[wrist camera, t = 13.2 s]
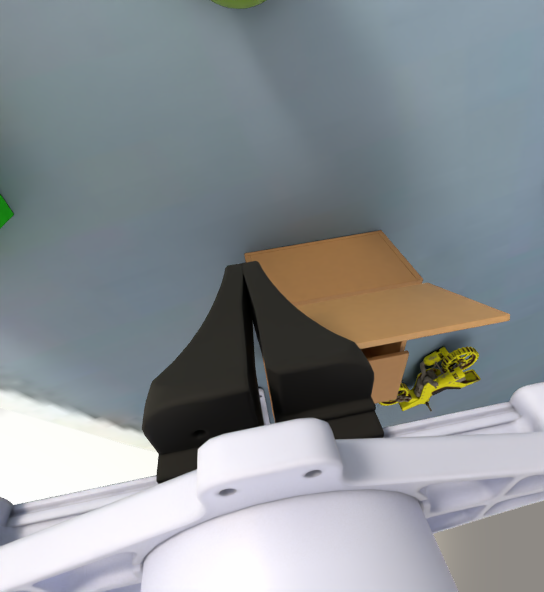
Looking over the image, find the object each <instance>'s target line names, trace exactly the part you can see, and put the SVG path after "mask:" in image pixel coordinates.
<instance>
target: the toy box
mask: <svg viewBox="0 0 544 592" xmlns="http://www.w3.org/2000/svg"><path fill="white" fill-rule="evenodd" d="M244 255H245V261H246V262H252V261H258V262H259V263H260V265H261V267H262V269H263V271H264V272H265V274H266V275H267V277H268V278H269V279H270V281H271V282H272V283H273V284H274V285H275V287H276V288H277V289H278V290H279V291H280V292H281V293H282V294H283V296H284V297H285V298H286V299H287V300H288V301H290V302H291V303H292V304H293V305H294V306H295V307H296V306H301V305H307V304H313V303H318V302H324V301H329V300H335V299H340V298H346V297H351V296H357V295H362V294H368V293H373V292H379V291H384V290H390V289H395V288H401V287H406V286H412V285H418V284H422V281H423V278H422V277H421V276H420V275H419V274H418V273H417V271H416V270H415V269H414V268H413V267H412V266H411V264H410V263H409V262H408V261H407V260H406V259H405V257H404V256H403V255H402V254H401V253H400V252H399V250H398V249H397V248H396V247H395V246H394V245H393V243H392V242H391V241H390V240H389V239H388V238H387V236H386V235H385V234H384V233H383V232H382V231H381V230H380V231H374V232H368V233H362V234H356V235H350V236H345V237H339V238H333V239H327V240H321V241H315V242H309V243H303V244H297V245H292V246H286V247H280V248H274V249H268V250H262V251H256V252H250V253H245V254H244ZM406 342H407V340H405V341H400V342H395V343H389V344H384V345H379V346H374V347H369V348H363V349H361V351H362V352H363V354H364V355H365V357H366V358H367V360H368V361H369V363H370V365H371V367H372V369H373V371H374V383H373V389H372V394H371V397H372V399H373V401H374V403H379V402H384V401H389V400H394V399H396V398H397V395H398V391H399V388H400V384H401V380H402V377H403V373H404V370H405V366H406V363H407V359H408V356H409V352H408V351H404V349H405V345H406ZM263 362H264V359H263ZM264 367H265V363H264ZM265 373H266V368H265ZM266 378H267V374H266ZM267 384H268V379H267ZM268 389H269V385H268ZM269 395H270V390H269ZM270 401H271V396H270ZM271 406H272V401H271ZM272 412H273V406H272ZM273 416H274V412H273ZM274 420H275V418H274Z"/></svg>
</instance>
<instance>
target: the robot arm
mask: <svg viewBox="0 0 544 592" xmlns="http://www.w3.org/2000/svg"><path fill="white" fill-rule="evenodd" d="M252 320H253V322H252ZM253 324H254V328H255V331H256V335H257V338H258V342H259V345H260V349H261V352H262V356H263V359H264V363H265V368H266V374H267V379H268V385H269V390H270V396H271V401H272V406H273V412H274V418H275V423H274V424H270V421H269V416H268V411H267V406H266V401H265V396H264V391H263V389H258V383H257V377H256V369H255V357H254V339H253ZM373 383H374V371H373V369H372V367H371V365H370V363H369V361H368V360H367V358H366V357H365V355H364V354H363V352H362V351H361V349H360V348H359V347H358V345H357V344H356V343H355V342H353V341H351V340H349V339H347V338H344V337H342V336H340V335H338V334H335V333H333V332H331V331H330V330H328V329H326V328H324V327H323V326H321V325H320V324H318V323H317V322H315V321H313V320H312V319H310V318H309V317H308V316H306V315H305V314H304V313H302V312H301V311H300V310H299V309H297V308H296V307H295V306H294V305H293V304H292V303H291V302H290V301H288V300H287V299H286V298H285V297H284V296H283V294H282V293H281V292H280V291H279V290H278V289H277V288H276V287H275V285H274V284H273V283H272V282H271V281H270V279H269V278H268V277H267V275H266V274H265V272H264V271H263V269H262V267H261V265H260V263H259V262H258V261H252V262H246V263H240V264H235V265H229V266H227V267H226V268H225V272H224V277H223V280H222V283H221V286H220V289H219V291H218V294H217V297H216V299H215V301H214V303H213V305H212V307H211V310H210V312H209V314H208V315H207V317H206V319H205V321H204V322H203V324H202V326H201V327H200V329H199V330H198V332H197V333H196V335H195V336H194V337H193V339H192V340H191V342H190V343H189V344H188V345H187V347H186V348H185V349H184V350H183V351H182V352H181V354H180V355H179V356H178V357H177V358H176V359H175V360H174V361H173V363H172V364H171V365H169V366H168V367H167V368H166V369H165V370H164V371H163V372H162V373H161V374H160V375H159V376H158V377H157V378H155V379H154V380H153V381H152V383H151V386H150V389H149V393H148V396H147V399H146V403H145V409H144V416H143V424H142V430H143V432H144V435H145V436H146V437H147V439H148V440H149V441H150V443H151V444H152V445H153V447H154V448H155V449H156V451H157V452H158V453H159V457H158V467H157V475H156V476H151V477H146V478H141V479H137V480H132V481H127V482H122V483H118V484H113V485H108V486H103V487H98V488H93V489H89V490H84V491H80V492H74V493H70V494H65V495H60V496H55V497H50V498H46V499H41V500H36V501H31V502H27V503H22V504H17V505H13V504H12V503H11V502H9V501H8V500H6V499H4V498H1V497H0V592H459V591H458V589H457V587H456V585H455V582H454V580H453V578H452V576H451V573H450V571H449V569H448V567H447V564H446V563H445V560H444V558H443V555H442V553H441V551H440V549H439V547H438V545H437V542H436V540H435V538H434V535H433V534H434V533H438V532H441V531H444V530H447V529H451V528H454V527H457V526H460V525H463V524H467V523H470V522H473V521H476V520H480V519H483V518H486V517H489V516H493V515H496V514H499V513H502V512H506V511H509V510H513V509H516V508H519V507H523V506H526V505H529V504H533V503H537V502H541V501H544V382H542V383H537V384H532V385H527V386H524V387H522V388H520V389H518V390H517V391H516V392H515V393H514V394H513V395H512V397H511V399H510V402H505V403H501V404H496V405H491V406H486V407H481V408H477V409H472V410H467V411H462V412H457V413H453V414H448V415H443V416H438V417H434V418H429V419H424V420H419V421H414V422H410V423H405V424H400V425H395V426H390V427H386V428H382V426H381V424H380V422H379V419H378V417H377V415H376V413H375V409H376V407H375V404H374V401H373V399H372V397H371V394H372V389H373Z"/></svg>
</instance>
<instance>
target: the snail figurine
mask: <svg viewBox="0 0 544 592" xmlns="http://www.w3.org/2000/svg"><path fill="white" fill-rule="evenodd" d="M211 1H212V2H214V3H216V4H219V5H221V6H224V7H228V8H234V9H244V8H250V7H253V6H256V5H259V4H261V3H263V2H264V1H266V0H211Z"/></svg>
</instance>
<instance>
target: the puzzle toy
mask: <svg viewBox="0 0 544 592" xmlns="http://www.w3.org/2000/svg"><path fill="white" fill-rule="evenodd" d="M13 215H14V214H13V212H12V211H11V209H10V208H9V206H8V205H7V203H6V202H5V200H4V199H3V197H2V196H1V194H0V228H1V227H2V226H3V225H4V224H5V223H6V222H7V221H8V220H9V219H10V218H11V217H12V216H13Z"/></svg>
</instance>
